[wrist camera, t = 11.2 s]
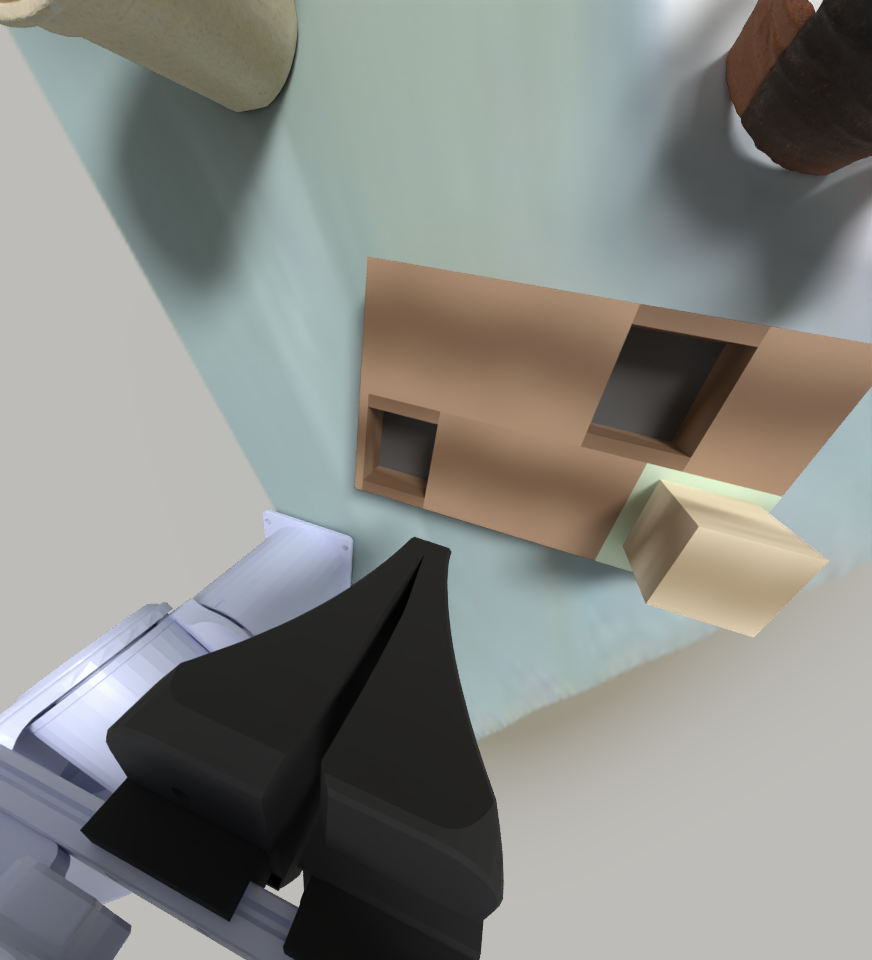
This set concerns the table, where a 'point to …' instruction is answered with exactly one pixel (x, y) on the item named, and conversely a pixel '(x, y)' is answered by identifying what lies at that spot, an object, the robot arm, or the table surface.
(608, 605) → the table surface
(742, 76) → the pottery mug
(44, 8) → the flower pot
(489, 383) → the board
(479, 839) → the robot arm
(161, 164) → the table surface
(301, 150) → the table surface
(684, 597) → the birch block
